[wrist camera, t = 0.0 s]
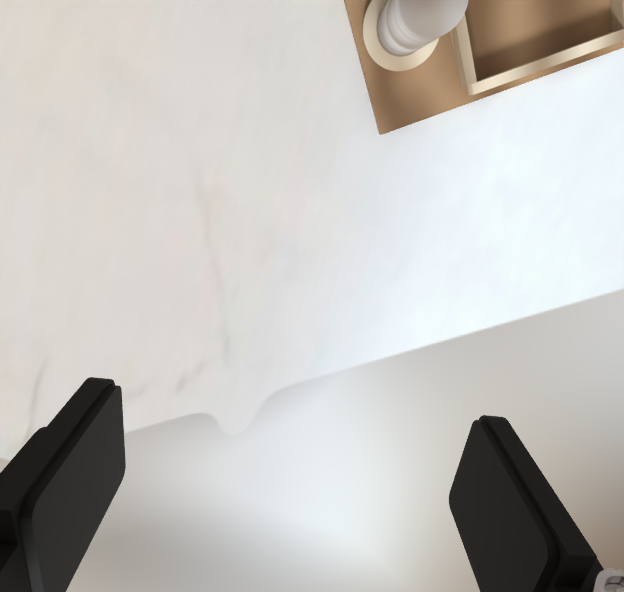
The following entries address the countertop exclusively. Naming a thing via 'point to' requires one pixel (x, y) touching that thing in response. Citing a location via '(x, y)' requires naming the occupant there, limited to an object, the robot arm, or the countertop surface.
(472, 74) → the board
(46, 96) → the countertop surface
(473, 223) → the countertop surface
